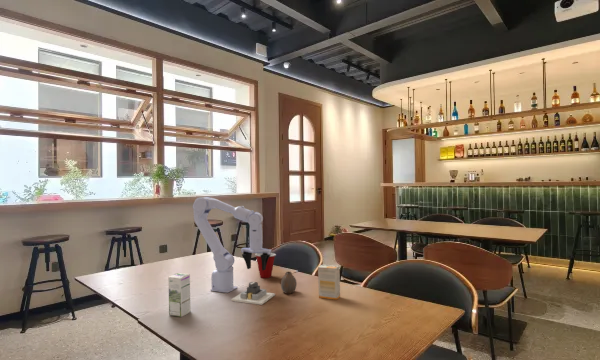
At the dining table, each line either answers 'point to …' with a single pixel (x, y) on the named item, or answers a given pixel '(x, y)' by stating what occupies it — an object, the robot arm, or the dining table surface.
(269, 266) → the plastic cup
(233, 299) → the hub panel
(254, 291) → the knob
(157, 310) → the dining table surface
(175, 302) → the syrup box
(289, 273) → the vase
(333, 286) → the supplement box
